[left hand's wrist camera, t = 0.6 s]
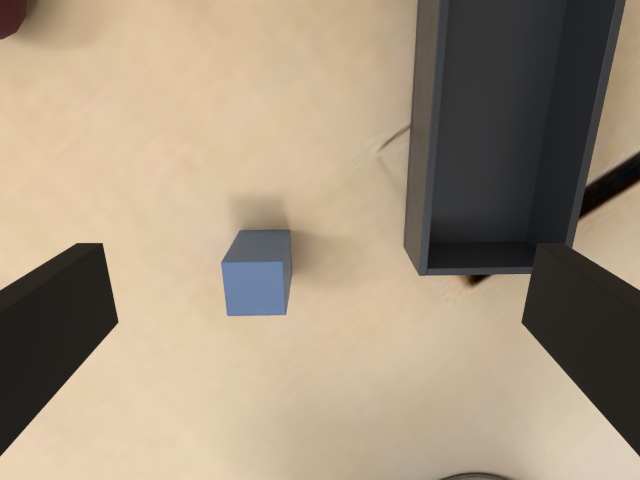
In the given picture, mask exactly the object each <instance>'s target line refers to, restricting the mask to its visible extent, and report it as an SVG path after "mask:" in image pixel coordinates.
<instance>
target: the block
mask: <svg viewBox="0 0 640 480" xmlns="http://www.w3.org/2000/svg"><path fill="white" fill-rule="evenodd" d="M221 264H222V273H223V282H224V291H225V299H226V308H227V315H228V316H254V315H286V312H287V305H288V299H289V292H290V285H291V279H292V264H291V243H290V230H269V231H239V233H238V235H237V236H236V238H235V240H234V242H233V243H232V245H231V247H230V248H229V250H228V252H227V254H226V255H225V257H224V259H223V261H222V262H221Z"/></svg>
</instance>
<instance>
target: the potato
mask: <svg viewBox="0 0 640 480" xmlns="http://www.w3.org/2000/svg"><path fill="white" fill-rule="evenodd" d="M26 6H27V0H0V39H4V38H6V37H8V36H10V35H12V34H14V33H15V32H17V30H18V29H19V27H20V25H21V24H22V22H23V20H24V19H25V15H26Z"/></svg>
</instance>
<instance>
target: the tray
mask: <svg viewBox="0 0 640 480" xmlns="http://www.w3.org/2000/svg"><path fill="white" fill-rule="evenodd" d="M625 2H626V0H418V10H417V27H416V44H415V61H414V78H413V95H412V112H411V129H410V147H409V164H408V181H407V198H406V215H405V232H404V249H405V250H406V252H407V254H408V256H409V258H410V260H411V261H412V263H413V265H414V267H415V269H416V271H417V272H418V274H419V275H420V276H426V275H485V274H531V273H532V268H533V263H534V258H535V253H536V248H537V243H563V244H565V245H567V246H568V247H570V248H572V246H573V241H574V237H575V232H576V227H577V223H578V218H579V214H580V209H581V204H582V200H583V195H584V191H585V186H586V181H587V177H588V172H589V168H590V163H591V158H592V154H593V149H594V145H595V140H596V135H597V131H598V126H599V121H600V117H601V112H602V108H603V103H604V98H605V94H606V89H607V85H608V80H609V75H610V71H611V66H612V62H613V57H614V52H615V48H616V43H617V38H618V34H619V29H620V25H621V20H622V15H623V11H624V6H625Z"/></svg>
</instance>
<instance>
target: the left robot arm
mask: <svg viewBox="0 0 640 480" xmlns="http://www.w3.org/2000/svg"><path fill="white" fill-rule="evenodd" d="M117 324H118V317H117V312H116V307H115V303H114V298H113V293H112V288H111V283H110V278H109V273H108V268H107V263H106V258H105V253H104V248H103V243H77V244H75V245H73V246H72V247H70V248H68V249H67V250H65V251H64V252H62V253H60V254H59V255H57V256H55V257H54V258H52V259H51V260H49V261H47V262H46V263H44V264H42V265H41V266H39V267H38V268H36V269H34V270H33V271H31V272H29V273H28V274H26V275H25V276H23V277H21V278H20V279H18V280H16V281H15V282H13V283H12V284H10V285H8V286H7V287H5V288H3V289H2V290H0V456H1V455H2V454H3V453H4V452H5V451H6V449H7V448H8V447H9V446H10V445H11V444H12V443H13V441H14V440H15V439H16V438H17V437H18V436H19V435H20V434H21V432H22V431H23V430H24V429H25V428H26V427H27V426H28V424H29V423H30V422H31V421H32V420H33V419H34V418H35V417H36V415H37V414H38V413H39V412H40V411H41V410H42V409H43V407H44V406H45V405H46V404H47V403H48V402H49V401H50V400H51V398H52V397H53V396H54V395H55V394H56V393H57V392H58V390H59V389H60V388H61V387H62V386H63V385H64V384H65V383H66V381H67V380H68V379H69V378H70V377H71V376H72V375H73V373H74V372H75V371H76V370H77V369H78V368H79V367H80V366H81V364H82V363H83V362H84V361H85V360H86V359H87V358H88V356H89V355H90V354H91V353H92V352H93V351H94V350H95V348H96V347H97V346H98V345H99V344H100V343H101V342H102V341H103V339H104V338H105V337H106V336H107V335H108V334H109V333H110V331H111V330H112V329H113V328H114V327H115V326H116V325H117ZM522 324H523V325H524V326H525V327H526V328H527V329H528V330H529V331H530V333H531V334H532V335H533V336H534V337H535V338H536V339H537V341H538V342H539V343H540V344H541V345H542V346H543V347H544V348H545V350H546V351H547V352H548V353H549V354H550V355H551V356H552V358H553V359H554V360H555V361H556V362H557V363H558V364H559V366H560V367H561V368H562V369H563V370H564V371H565V372H566V373H567V375H568V376H569V377H570V378H571V379H572V380H573V381H574V383H575V384H576V385H577V386H578V387H579V388H580V389H581V390H582V392H583V393H584V394H585V395H586V396H587V397H588V398H589V400H590V401H591V402H592V403H593V404H594V405H595V406H596V407H597V409H598V410H599V411H600V412H601V413H602V414H603V415H604V417H605V418H606V419H607V420H608V421H609V422H610V423H611V424H612V426H613V427H614V428H615V429H616V430H617V431H618V432H619V434H620V435H621V436H622V437H623V438H624V439H625V440H626V441H627V443H628V444H629V445H630V446H631V447H632V448H633V449H634V451H635V452H636V453H637V454H638V455H639V456H640V290H638V289H637V288H635V287H633V286H632V285H630V284H628V283H627V282H625V281H624V280H622V279H620V278H619V277H617V276H615V275H614V274H612V273H611V272H609V271H607V270H606V269H604V268H602V267H601V266H599V265H598V264H596V263H594V262H593V261H591V260H589V259H588V258H586V257H585V256H583V255H581V254H580V253H578V252H576V251H575V250H573V249H572V248H570V247H568V246H567V245H565V244H563V243H537V248H536V253H535V258H534V263H533V268H532V273H531V278H530V283H529V288H528V293H527V298H526V303H525V307H524V312H523V317H522ZM445 480H506V479H503V478H500V477H496V476H492V475H484V474H468V475H460V476H455V477H451V478H448V479H445Z"/></svg>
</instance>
